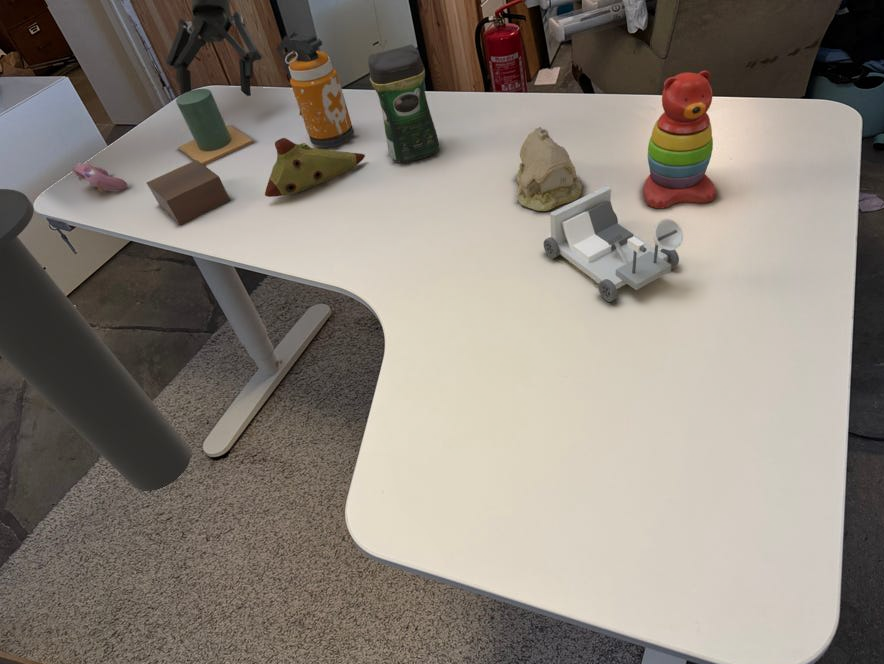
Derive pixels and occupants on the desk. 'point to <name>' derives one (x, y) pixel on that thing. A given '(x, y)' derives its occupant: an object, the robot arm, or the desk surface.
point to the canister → (316, 90)
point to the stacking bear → (681, 144)
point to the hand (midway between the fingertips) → (216, 96)
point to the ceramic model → (546, 173)
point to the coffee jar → (403, 103)
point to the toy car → (610, 245)
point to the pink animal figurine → (98, 177)
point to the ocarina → (306, 167)
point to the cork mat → (208, 156)
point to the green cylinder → (204, 119)
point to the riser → (188, 191)
